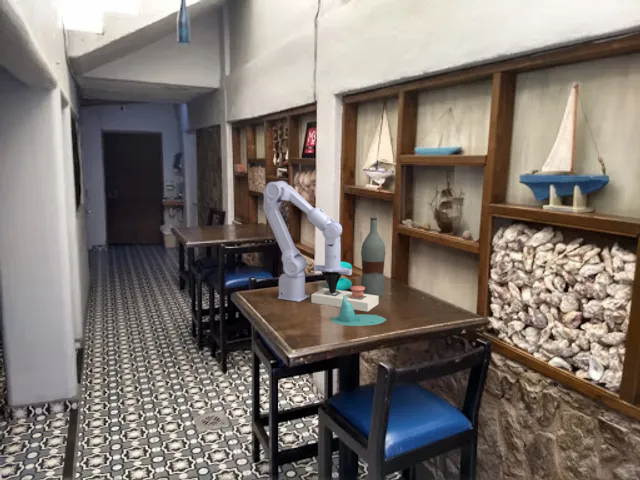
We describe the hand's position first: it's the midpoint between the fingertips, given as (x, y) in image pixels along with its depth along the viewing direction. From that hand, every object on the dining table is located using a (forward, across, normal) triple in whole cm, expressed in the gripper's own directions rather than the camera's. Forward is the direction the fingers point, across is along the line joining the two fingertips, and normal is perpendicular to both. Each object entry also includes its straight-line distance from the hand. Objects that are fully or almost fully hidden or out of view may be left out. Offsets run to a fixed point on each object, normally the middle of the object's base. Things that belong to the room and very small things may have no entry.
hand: (332, 292), depth 176 cm
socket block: (+3, +5, 0) cm, 6 cm away
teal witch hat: (+4, +17, -14) cm, 22 cm away
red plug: (0, +10, 0) cm, 10 cm away
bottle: (+4, +10, +14) cm, 18 cm away
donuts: (+4, -6, +18) cm, 19 cm away
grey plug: (+3, 0, 0) cm, 3 cm away
